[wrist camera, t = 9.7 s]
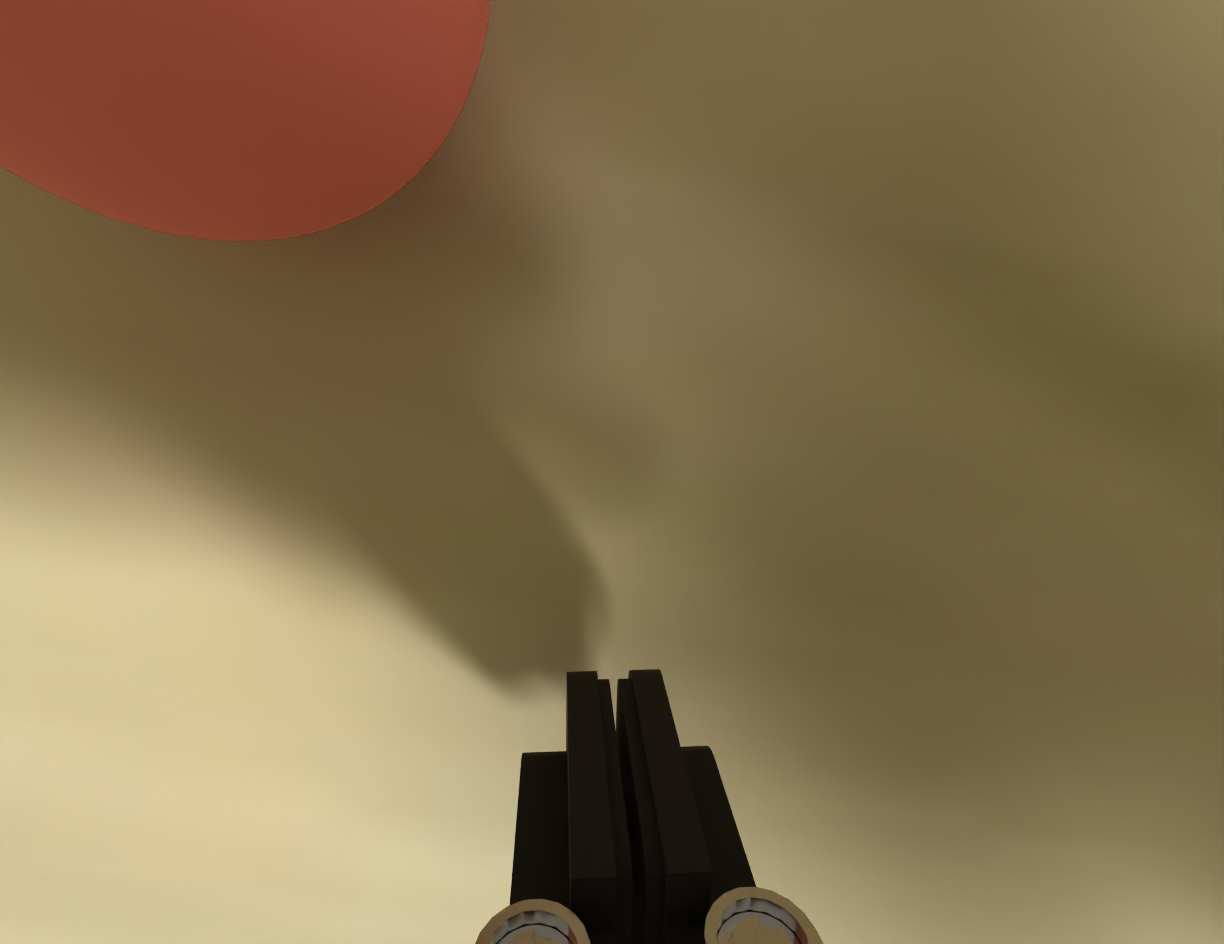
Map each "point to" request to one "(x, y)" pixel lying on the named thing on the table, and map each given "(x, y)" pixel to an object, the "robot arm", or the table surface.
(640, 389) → the table surface
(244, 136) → the ball
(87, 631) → the table surface
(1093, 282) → the table surface
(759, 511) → the table surface
